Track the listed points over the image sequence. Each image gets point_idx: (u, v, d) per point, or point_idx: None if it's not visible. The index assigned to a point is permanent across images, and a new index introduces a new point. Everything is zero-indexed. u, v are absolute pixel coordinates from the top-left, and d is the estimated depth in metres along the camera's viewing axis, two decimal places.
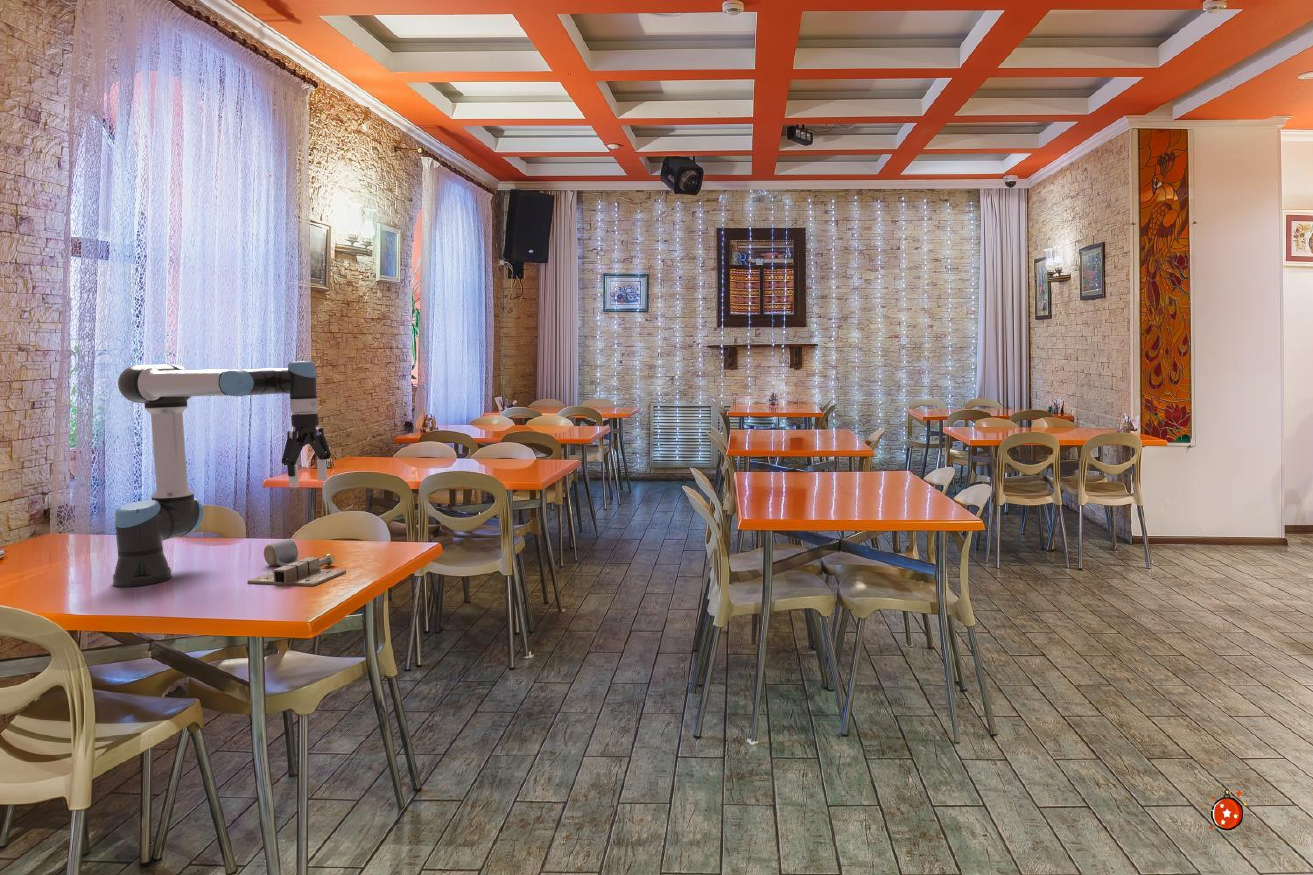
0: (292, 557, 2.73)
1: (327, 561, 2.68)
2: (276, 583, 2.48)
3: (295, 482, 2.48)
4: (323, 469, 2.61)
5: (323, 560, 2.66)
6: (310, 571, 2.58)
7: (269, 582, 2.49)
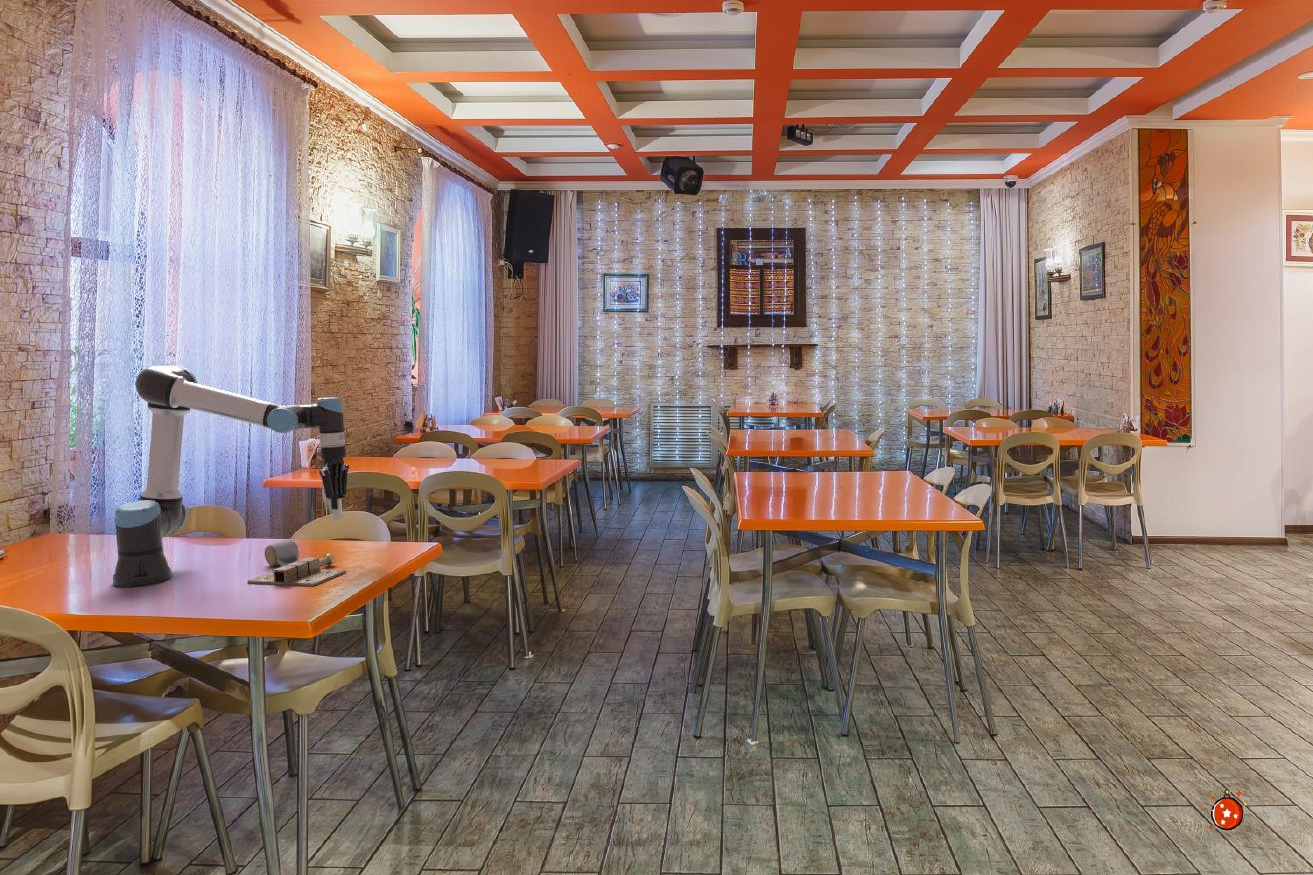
0: (293, 557, 2.73)
1: (327, 561, 2.68)
2: (276, 583, 2.48)
3: (338, 514, 2.74)
4: None
5: (323, 560, 2.66)
6: (310, 571, 2.58)
7: (269, 582, 2.49)
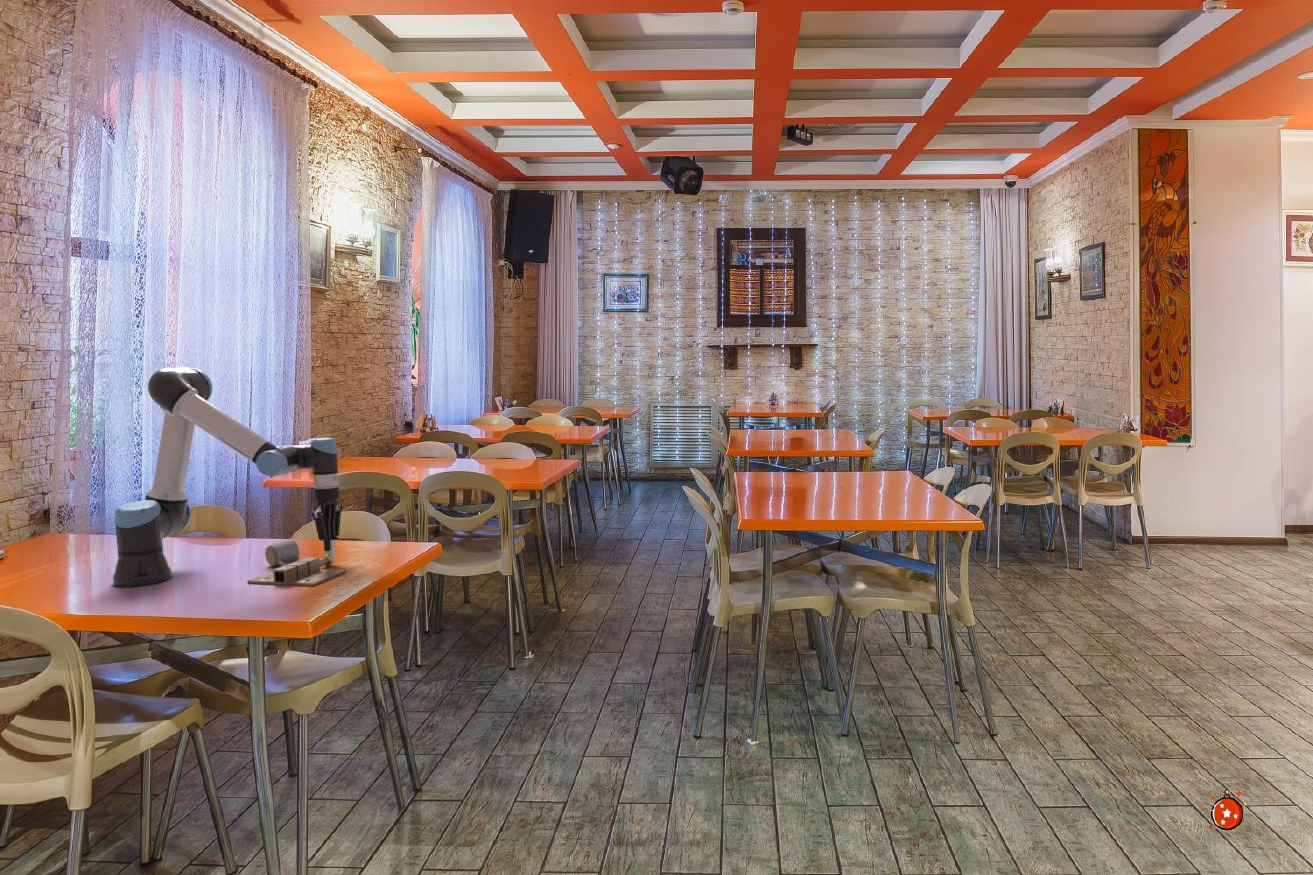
0: (294, 557, 2.73)
1: (326, 561, 2.68)
2: (276, 583, 2.48)
3: None
4: None
5: (322, 560, 2.66)
6: (310, 571, 2.58)
7: (269, 582, 2.49)
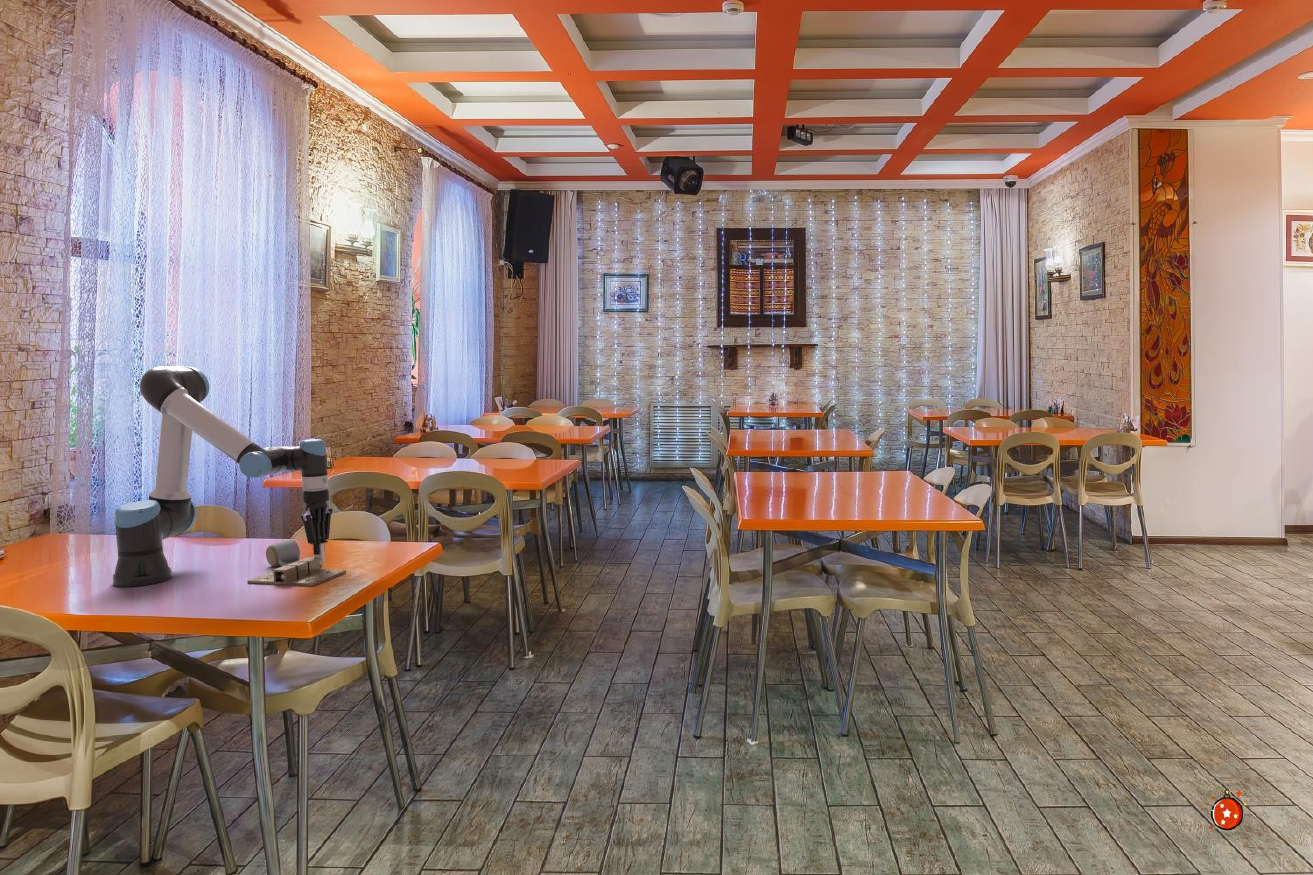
0: (294, 558, 2.72)
1: None
2: (276, 583, 2.48)
3: None
4: None
5: None
6: (310, 571, 2.58)
7: (269, 582, 2.49)
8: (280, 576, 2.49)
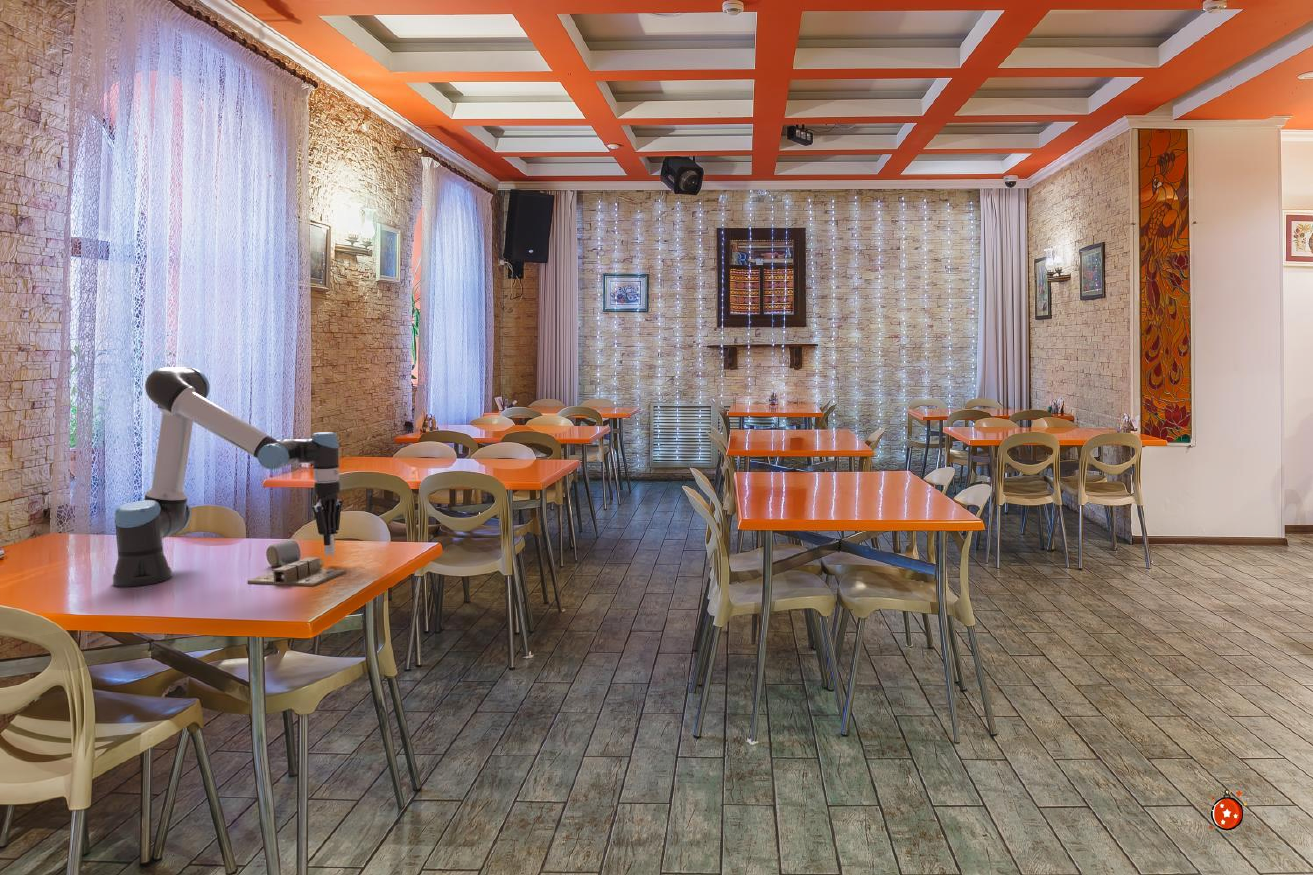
0: (295, 558, 2.72)
1: None
2: (276, 583, 2.48)
3: (330, 550, 2.71)
4: None
5: None
6: (310, 571, 2.58)
7: (269, 582, 2.49)
8: (280, 576, 2.49)
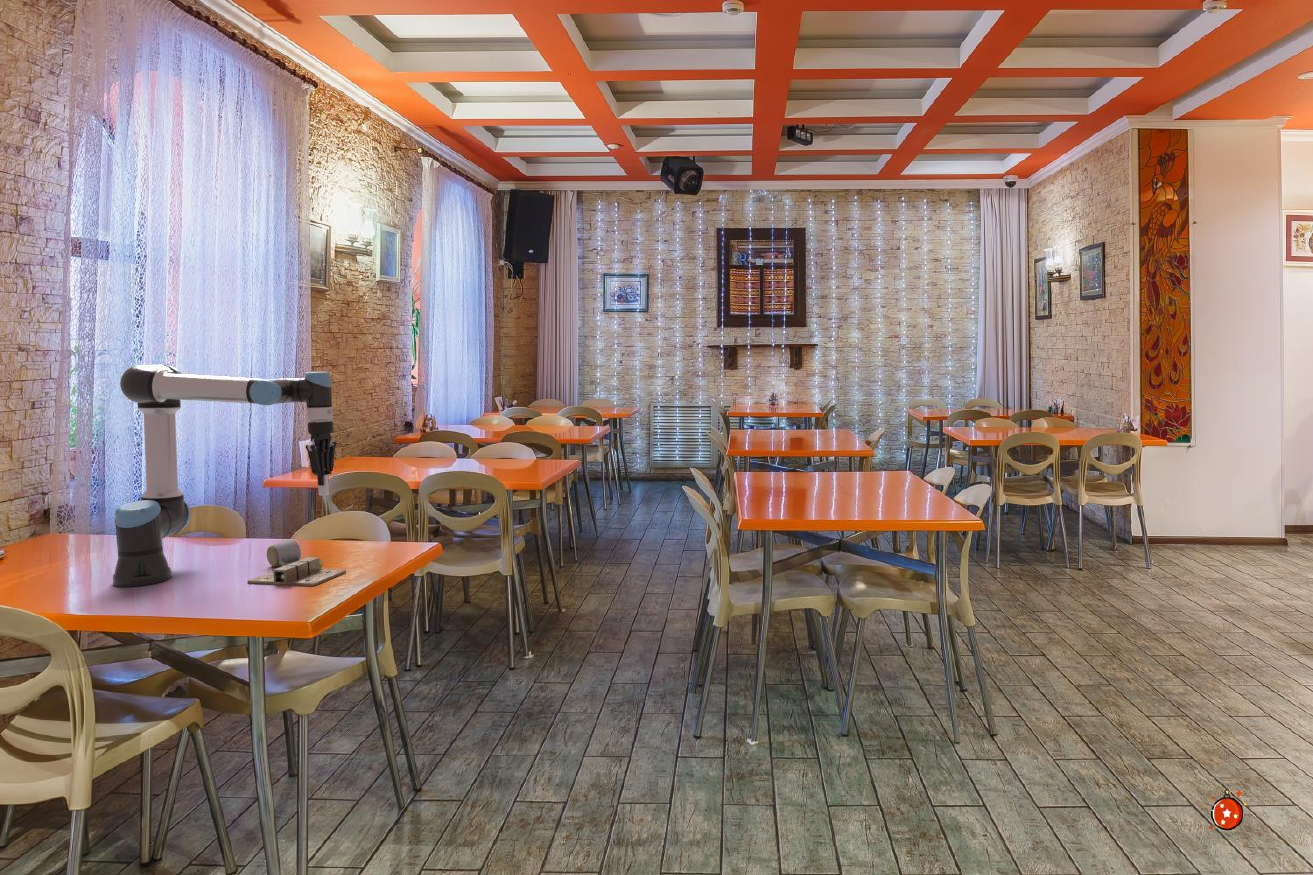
0: (295, 558, 2.72)
1: None
2: (276, 583, 2.48)
3: (324, 491, 2.69)
4: None
5: None
6: (310, 571, 2.58)
7: (269, 582, 2.49)
8: (280, 576, 2.49)
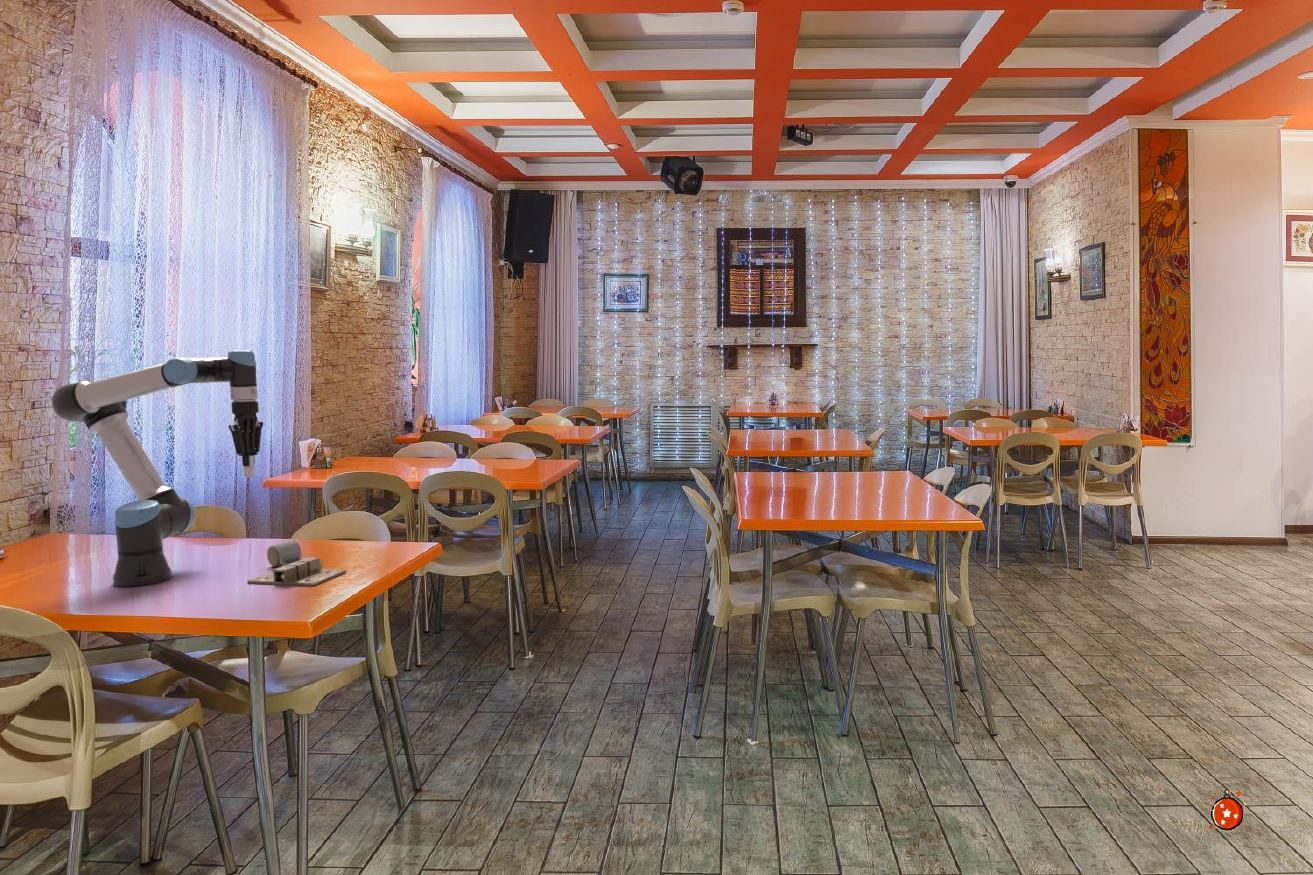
0: (295, 558, 2.72)
1: None
2: (276, 583, 2.48)
3: (249, 472, 2.64)
4: None
5: None
6: (310, 571, 2.58)
7: (269, 582, 2.49)
8: (280, 576, 2.49)
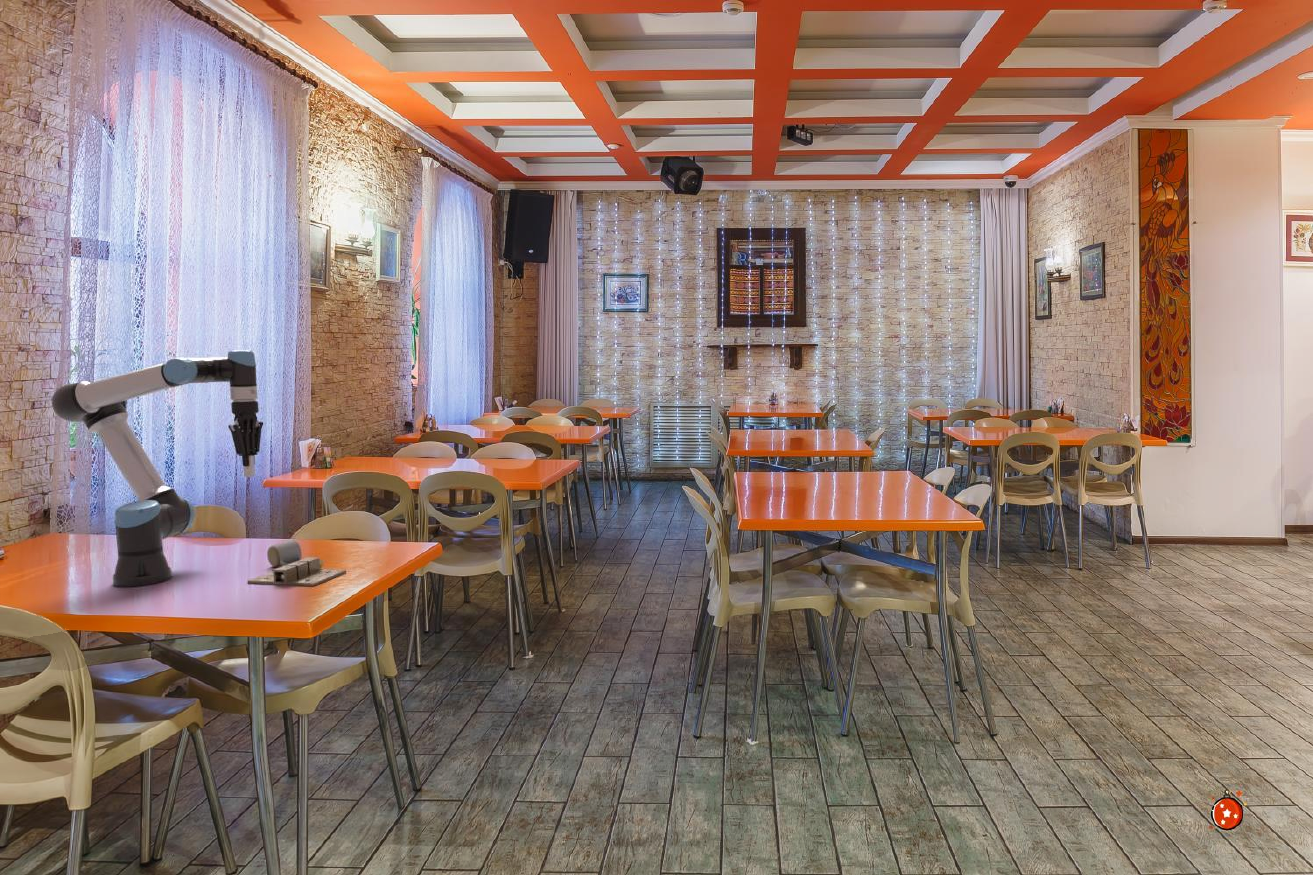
0: (296, 558, 2.72)
1: None
2: (276, 583, 2.48)
3: (249, 472, 2.64)
4: None
5: None
6: (310, 571, 2.58)
7: (269, 582, 2.49)
8: (280, 576, 2.49)
